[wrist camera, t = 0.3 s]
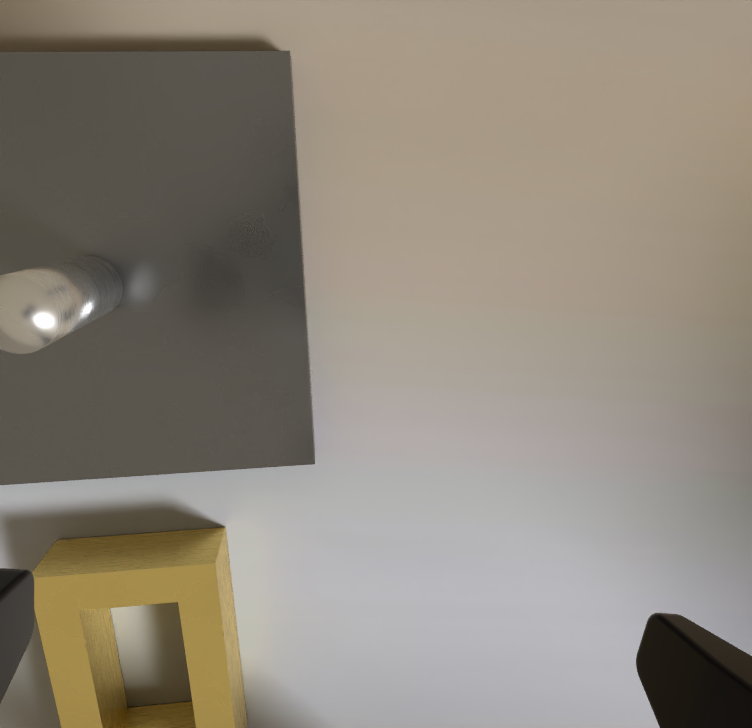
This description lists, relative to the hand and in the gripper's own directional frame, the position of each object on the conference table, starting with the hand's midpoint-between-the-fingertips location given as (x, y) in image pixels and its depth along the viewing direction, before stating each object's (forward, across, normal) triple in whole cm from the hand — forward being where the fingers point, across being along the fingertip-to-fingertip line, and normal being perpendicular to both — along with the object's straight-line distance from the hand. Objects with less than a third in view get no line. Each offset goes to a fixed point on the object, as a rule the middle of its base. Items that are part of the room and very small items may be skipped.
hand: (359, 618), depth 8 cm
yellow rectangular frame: (+14, +6, +13) cm, 20 cm away
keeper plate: (+14, +8, -2) cm, 16 cm away
